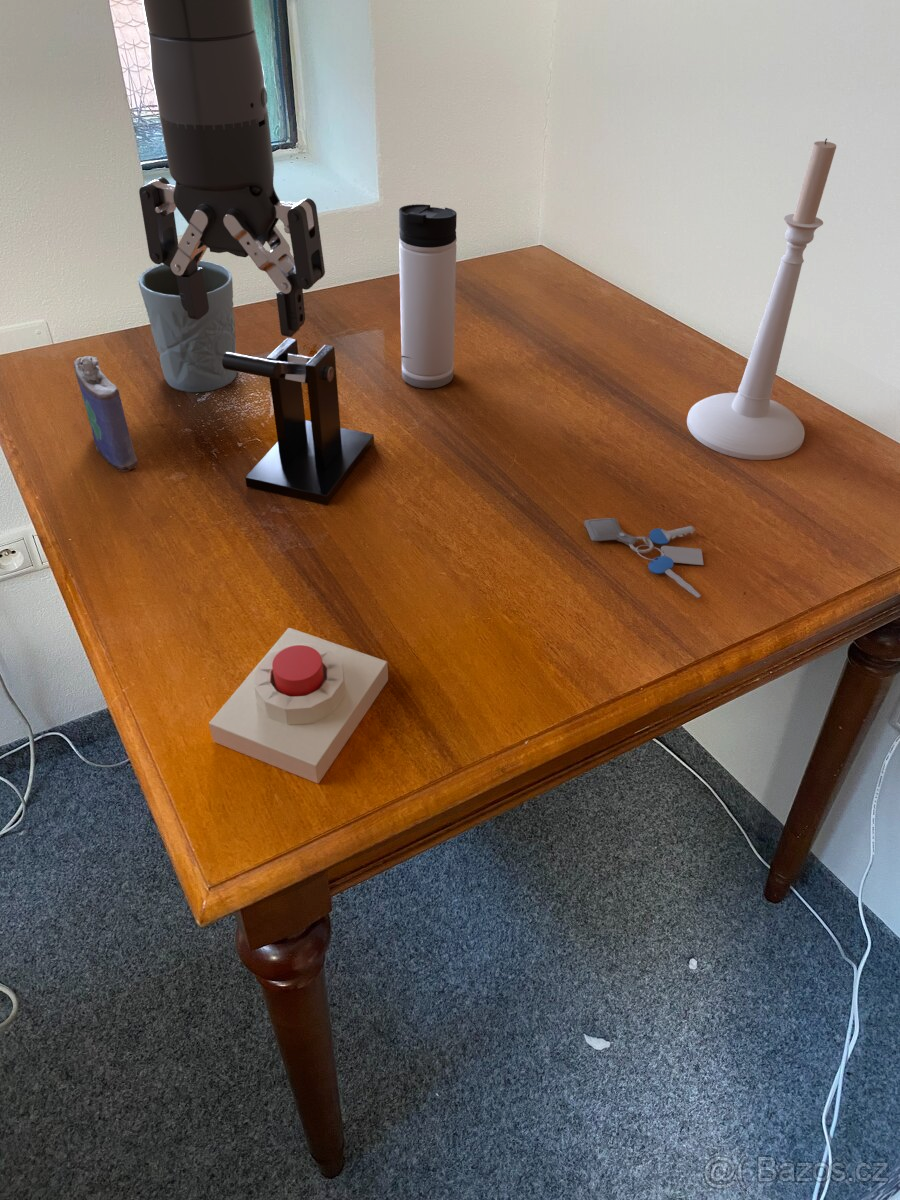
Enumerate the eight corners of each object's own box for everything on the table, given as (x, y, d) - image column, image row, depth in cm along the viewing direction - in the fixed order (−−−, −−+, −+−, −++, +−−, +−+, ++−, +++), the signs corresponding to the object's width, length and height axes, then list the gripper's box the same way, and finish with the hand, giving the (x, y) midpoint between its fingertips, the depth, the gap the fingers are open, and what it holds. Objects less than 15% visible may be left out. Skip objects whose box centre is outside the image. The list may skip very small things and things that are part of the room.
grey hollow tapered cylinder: (157, 361, 108) (135, 264, 100) (240, 350, 110) (225, 254, 102) (164, 401, 101) (141, 300, 93) (252, 389, 103) (237, 289, 95)
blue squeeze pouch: (141, 467, 91) (116, 373, 84) (113, 476, 90) (85, 381, 82) (113, 427, 96) (88, 336, 89) (87, 435, 95) (58, 343, 88)
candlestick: (827, 440, 97) (934, 148, 77) (742, 472, 92) (832, 168, 72) (745, 389, 105) (822, 112, 85) (663, 416, 100) (723, 129, 80)
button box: (318, 784, 62) (313, 749, 60) (213, 742, 65) (203, 706, 62) (388, 680, 70) (387, 645, 67) (291, 645, 72) (286, 610, 70)
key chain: (571, 532, 84) (572, 525, 83) (622, 497, 88) (623, 490, 88) (696, 602, 77) (698, 595, 76) (745, 560, 81) (747, 553, 81)
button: (307, 703, 63) (305, 687, 62) (265, 687, 64) (262, 671, 63) (332, 670, 66) (331, 653, 64) (291, 655, 67) (288, 639, 65)
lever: (272, 384, 74) (275, 355, 73) (220, 374, 75) (223, 345, 75) (330, 386, 85) (333, 361, 85) (284, 377, 87) (287, 352, 86)
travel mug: (392, 384, 105) (386, 211, 91) (414, 360, 109) (412, 191, 96) (440, 395, 103) (442, 220, 89) (461, 370, 107) (466, 200, 94)
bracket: (327, 505, 87) (316, 389, 78) (246, 487, 89) (227, 372, 80) (374, 443, 95) (369, 332, 86) (299, 428, 97) (286, 318, 88)
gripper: (94, 107, 61) (144, 329, 72) (279, 130, 57) (303, 359, 68) (154, 83, 66) (193, 293, 77) (328, 103, 63) (342, 319, 74)
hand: (245, 324), depth 73 cm, fingers open, 8 cm apart
